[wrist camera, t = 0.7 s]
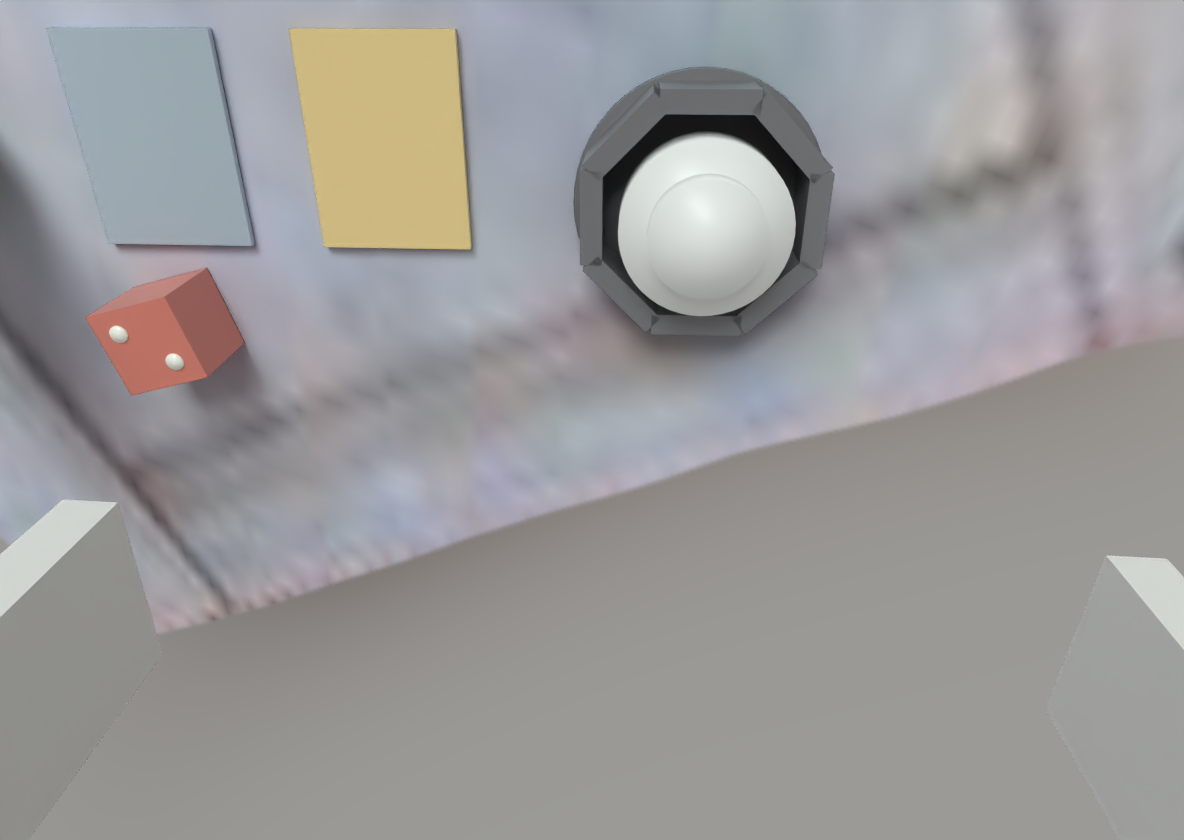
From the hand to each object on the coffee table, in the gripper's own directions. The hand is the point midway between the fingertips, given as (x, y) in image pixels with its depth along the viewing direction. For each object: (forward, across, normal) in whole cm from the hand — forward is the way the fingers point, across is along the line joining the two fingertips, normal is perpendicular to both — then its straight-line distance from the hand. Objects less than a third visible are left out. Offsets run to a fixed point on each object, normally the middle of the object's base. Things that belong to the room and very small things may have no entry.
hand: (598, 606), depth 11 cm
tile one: (+23, -18, +2) cm, 30 cm away
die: (+23, -19, -5) cm, 30 cm away
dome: (+21, +3, 0) cm, 21 cm away
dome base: (+23, +3, 0) cm, 24 cm away
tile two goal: (+23, -9, +2) cm, 25 cm away
